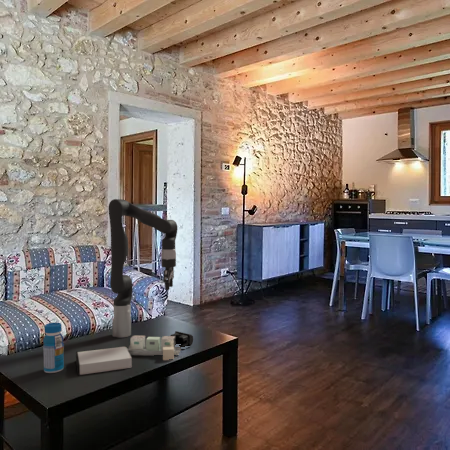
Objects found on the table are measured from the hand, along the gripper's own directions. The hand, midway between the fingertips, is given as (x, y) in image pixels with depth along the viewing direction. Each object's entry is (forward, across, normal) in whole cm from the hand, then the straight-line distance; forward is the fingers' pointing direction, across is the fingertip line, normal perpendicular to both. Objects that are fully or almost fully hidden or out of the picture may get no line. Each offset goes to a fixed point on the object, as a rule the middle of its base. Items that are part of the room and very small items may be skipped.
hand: (168, 288), depth 221 cm
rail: (+28, +19, -4) cm, 34 cm away
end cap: (+28, +8, +8) cm, 31 cm away
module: (+27, +19, -4) cm, 33 cm away
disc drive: (+29, +35, -23) cm, 51 cm away
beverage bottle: (+28, +43, -42) cm, 66 cm away
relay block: (+28, +26, +5) cm, 39 cm away
